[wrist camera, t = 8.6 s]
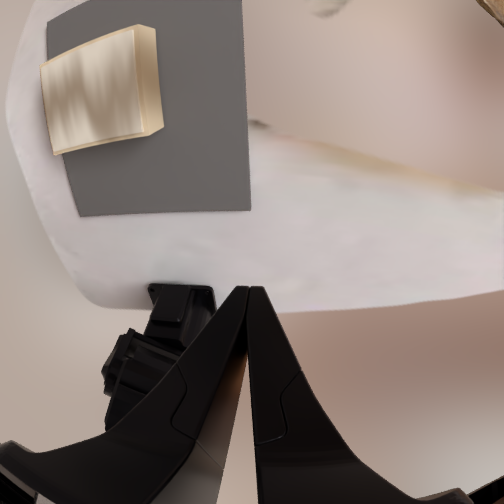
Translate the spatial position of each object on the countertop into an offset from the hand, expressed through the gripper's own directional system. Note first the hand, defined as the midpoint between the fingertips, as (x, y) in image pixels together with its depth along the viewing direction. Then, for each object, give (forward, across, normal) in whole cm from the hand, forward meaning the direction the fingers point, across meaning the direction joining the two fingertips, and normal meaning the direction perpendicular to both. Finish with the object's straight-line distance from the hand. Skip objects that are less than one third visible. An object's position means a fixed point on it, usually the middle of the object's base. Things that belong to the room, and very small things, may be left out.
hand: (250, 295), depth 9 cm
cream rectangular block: (+10, +6, -7) cm, 14 cm away
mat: (+12, +8, -6) cm, 16 cm away
